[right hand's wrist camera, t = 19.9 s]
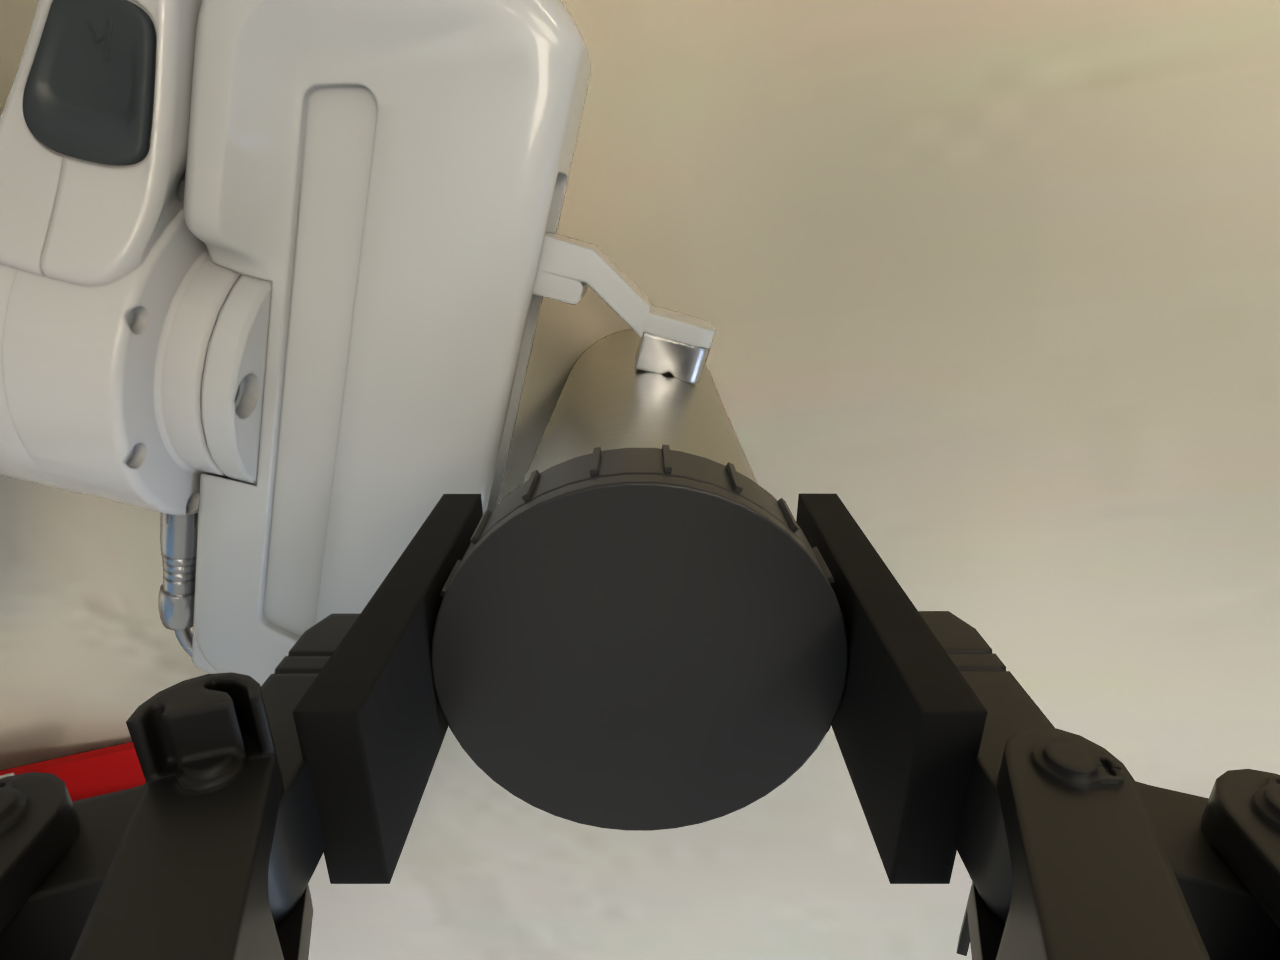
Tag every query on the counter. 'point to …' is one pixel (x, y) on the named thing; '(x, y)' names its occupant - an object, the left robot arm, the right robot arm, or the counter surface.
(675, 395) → the jar
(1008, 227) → the counter surface
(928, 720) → the right robot arm
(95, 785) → the toy
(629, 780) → the lid
